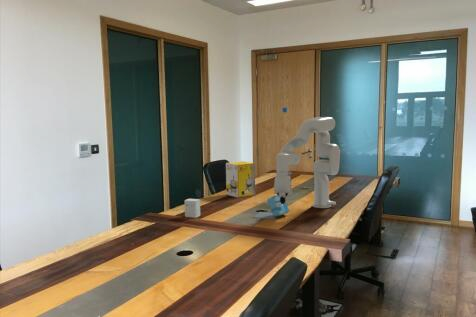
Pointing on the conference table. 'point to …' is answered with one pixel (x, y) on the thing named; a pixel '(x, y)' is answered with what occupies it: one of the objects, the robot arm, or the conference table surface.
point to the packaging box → (240, 179)
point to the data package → (277, 206)
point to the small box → (192, 208)
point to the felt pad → (264, 215)
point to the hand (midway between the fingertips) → (282, 203)
